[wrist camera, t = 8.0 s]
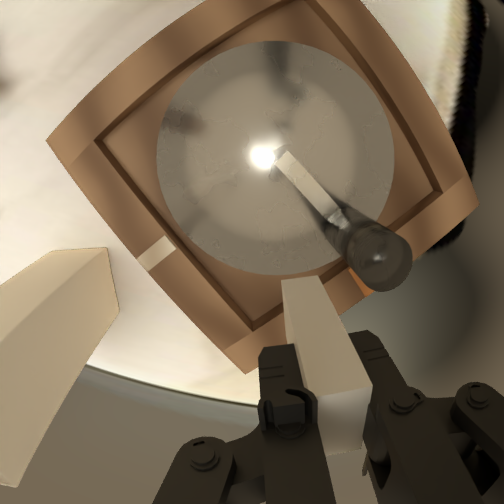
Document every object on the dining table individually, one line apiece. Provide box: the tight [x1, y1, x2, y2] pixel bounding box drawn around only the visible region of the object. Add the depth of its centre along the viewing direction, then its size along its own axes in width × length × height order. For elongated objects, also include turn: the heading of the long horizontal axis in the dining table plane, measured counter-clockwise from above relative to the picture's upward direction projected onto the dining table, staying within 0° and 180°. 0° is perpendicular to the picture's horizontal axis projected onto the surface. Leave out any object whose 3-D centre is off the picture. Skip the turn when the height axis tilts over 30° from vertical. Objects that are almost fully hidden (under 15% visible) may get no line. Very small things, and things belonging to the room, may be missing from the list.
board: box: [46, 0, 479, 374], centre depth 21 cm, size 24×24×3 cm
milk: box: [0, 248, 120, 487], centre depth 15 cm, size 6×6×22 cm
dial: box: [156, 41, 413, 292], centre depth 17 cm, size 16×16×8 cm
